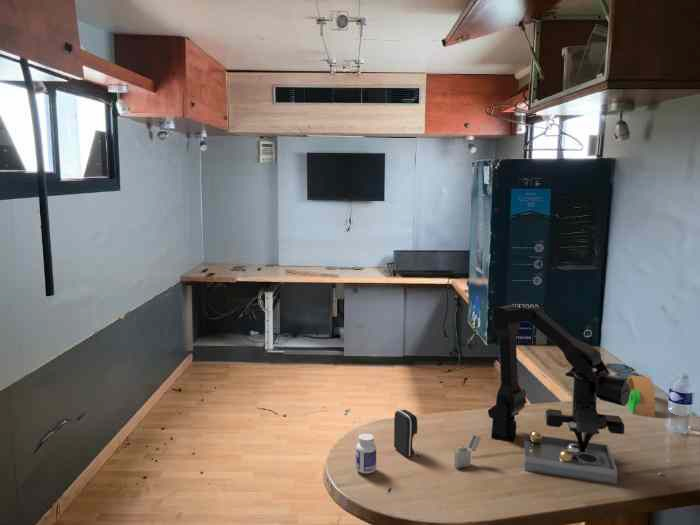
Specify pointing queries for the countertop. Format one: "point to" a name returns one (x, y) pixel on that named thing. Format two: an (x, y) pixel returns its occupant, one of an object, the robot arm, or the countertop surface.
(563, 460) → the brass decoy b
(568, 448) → the steel ball
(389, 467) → the countertop surface
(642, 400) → the arch
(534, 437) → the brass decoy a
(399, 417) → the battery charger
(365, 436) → the pill bottle
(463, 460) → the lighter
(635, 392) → the mechanical part
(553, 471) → the tray
